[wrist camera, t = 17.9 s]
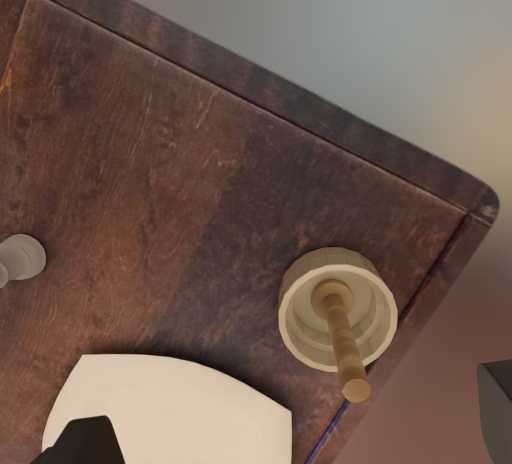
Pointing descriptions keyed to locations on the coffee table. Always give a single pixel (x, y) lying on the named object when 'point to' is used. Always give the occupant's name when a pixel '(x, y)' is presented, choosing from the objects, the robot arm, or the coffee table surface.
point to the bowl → (360, 317)
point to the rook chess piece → (20, 258)
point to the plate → (173, 411)
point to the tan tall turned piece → (342, 336)
